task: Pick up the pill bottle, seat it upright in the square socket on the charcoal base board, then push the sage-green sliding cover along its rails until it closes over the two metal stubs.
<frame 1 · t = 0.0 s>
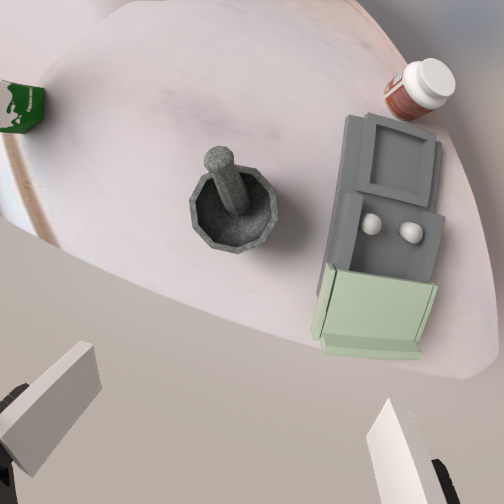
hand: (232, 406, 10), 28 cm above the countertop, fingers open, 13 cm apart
pill bottle: (401, 100, 31), on the countertop
milk carton: (33, 111, 36), on the countertop
housing base: (382, 216, 35), on the countertop
cover: (379, 313, 31), point 7 cm above the countertop, slide at 8.0 cm
mortar and pestle: (241, 199, 36), on the countertop
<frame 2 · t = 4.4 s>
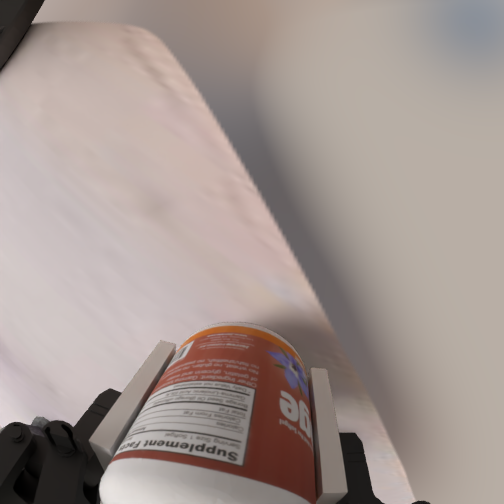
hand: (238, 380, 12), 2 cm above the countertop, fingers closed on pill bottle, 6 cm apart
pill bottle: (240, 370, 13), point 2 cm above the countertop, touching gripper
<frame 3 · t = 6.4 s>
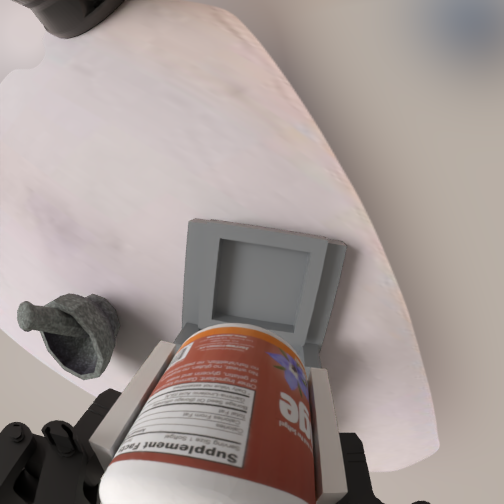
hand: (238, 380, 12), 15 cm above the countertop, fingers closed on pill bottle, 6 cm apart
pill bottle: (240, 371, 13), point 15 cm above the countertop, touching gripper
housing base: (250, 341, 29), on the countertop
mortar and pestle: (98, 311, 31), on the countertop
when the fingers open (5 cm above the countertop, at t = 8.5 s): pill bottle drops 2 cm, resting on housing base.
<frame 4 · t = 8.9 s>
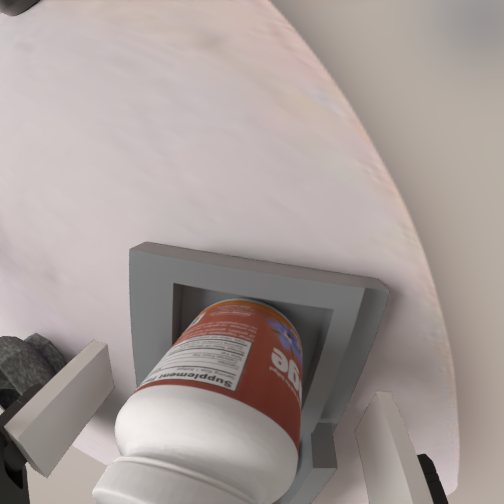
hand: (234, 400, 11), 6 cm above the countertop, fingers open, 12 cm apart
pill bottle: (245, 344, 15), point 2 cm above the countertop, touching housing base
housing base: (236, 411, 19), on the countertop
mortar and pestle: (46, 354, 20), on the countertop
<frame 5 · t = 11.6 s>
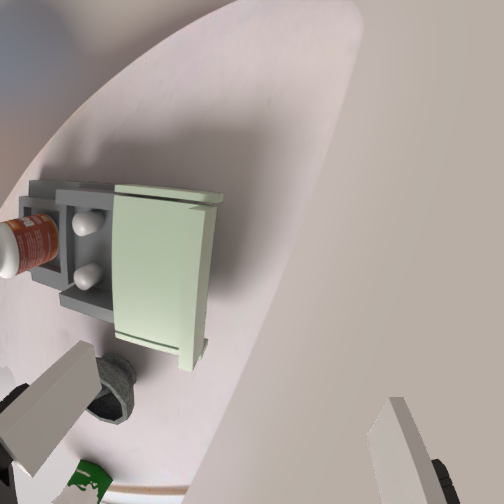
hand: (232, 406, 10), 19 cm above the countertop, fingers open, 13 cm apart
pill bottle: (47, 236, 29), point 2 cm above the countertop, touching housing base
milk carton: (96, 469, 46), on the countertop
housing base: (98, 241, 30), on the countertop
cover: (155, 277, 23), point 7 cm above the countertop, slide at 8.0 cm
mortar and pestle: (114, 368, 35), on the countertop
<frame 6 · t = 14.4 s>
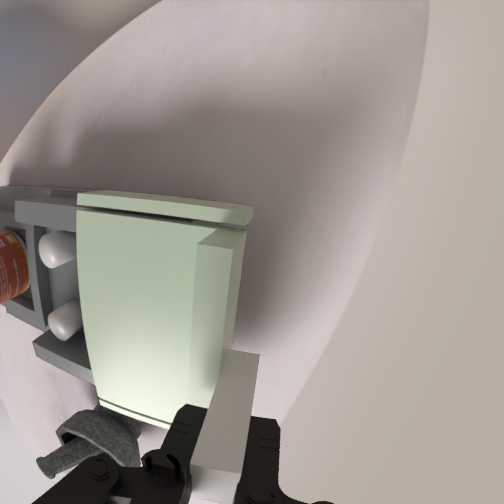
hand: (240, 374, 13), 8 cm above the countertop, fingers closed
pill bottle: (18, 260, 20), point 2 cm above the countertop, touching housing base
housing base: (81, 269, 21), on the countertop
cover: (147, 340, 14), point 7 cm above the countertop, slide at 7.2 cm, touching gripper
mortar and pestle: (114, 418, 26), on the countertop
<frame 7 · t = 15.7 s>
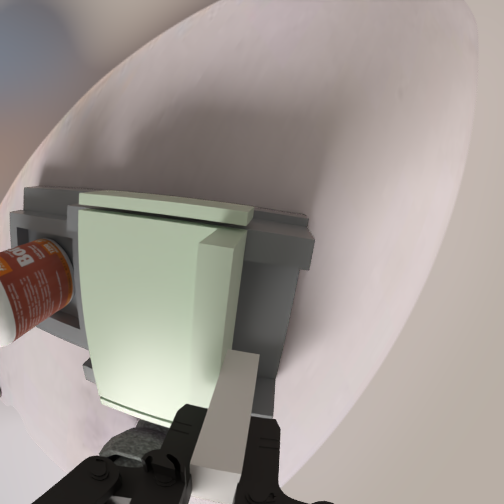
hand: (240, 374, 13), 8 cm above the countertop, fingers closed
pill bottle: (54, 271, 20), point 2 cm above the countertop, touching housing base
housing base: (136, 282, 21), on the countertop
cover: (148, 339, 14), point 7 cm above the countertop, slide at 1.4 cm, touching gripper
mortar and pestle: (158, 432, 26), on the countertop
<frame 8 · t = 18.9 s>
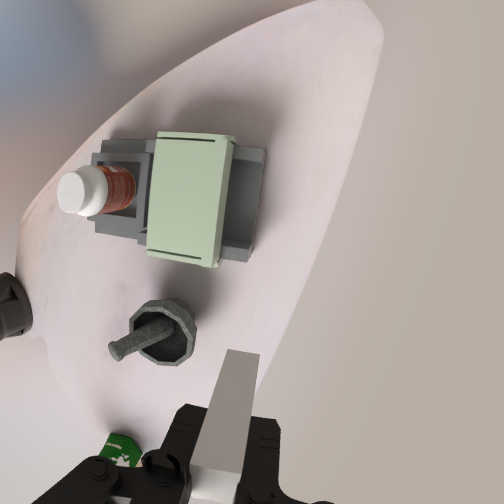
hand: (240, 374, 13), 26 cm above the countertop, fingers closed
pill bottle: (120, 188, 36), point 2 cm above the countertop, touching housing base
milk carton: (126, 443, 54), on the countertop
housing base: (173, 191, 38), on the countertop
cover: (185, 197, 30), point 7 cm above the countertop, slide at 1.3 cm
mortar and pestle: (172, 315, 42), on the countertop
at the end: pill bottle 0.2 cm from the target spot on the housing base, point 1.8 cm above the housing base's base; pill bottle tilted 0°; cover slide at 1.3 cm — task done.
